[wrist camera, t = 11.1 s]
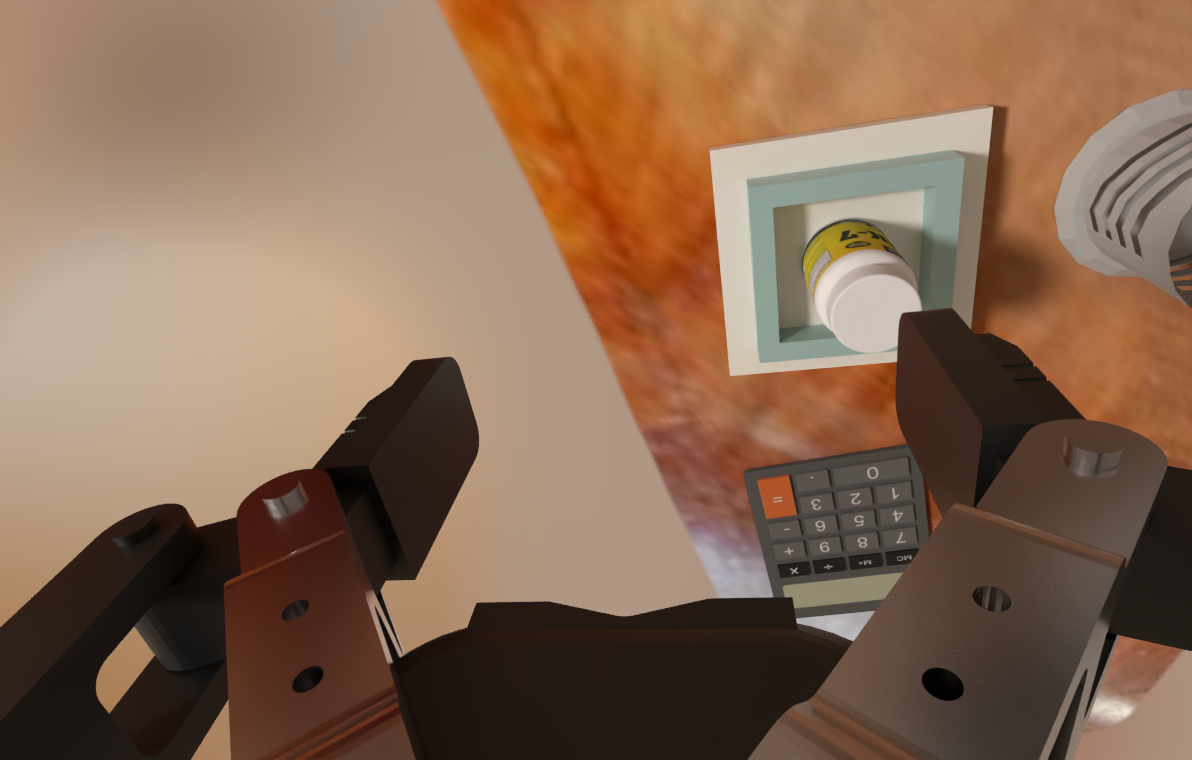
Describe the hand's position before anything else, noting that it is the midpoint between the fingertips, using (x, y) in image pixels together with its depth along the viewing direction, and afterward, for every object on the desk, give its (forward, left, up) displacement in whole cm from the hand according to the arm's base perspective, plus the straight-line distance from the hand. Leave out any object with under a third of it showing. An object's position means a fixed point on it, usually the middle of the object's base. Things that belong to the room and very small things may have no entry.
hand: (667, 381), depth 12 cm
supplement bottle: (+8, +8, -27) cm, 29 cm away
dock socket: (+8, +8, -28) cm, 30 cm away
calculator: (+30, +8, -29) cm, 42 cm away
